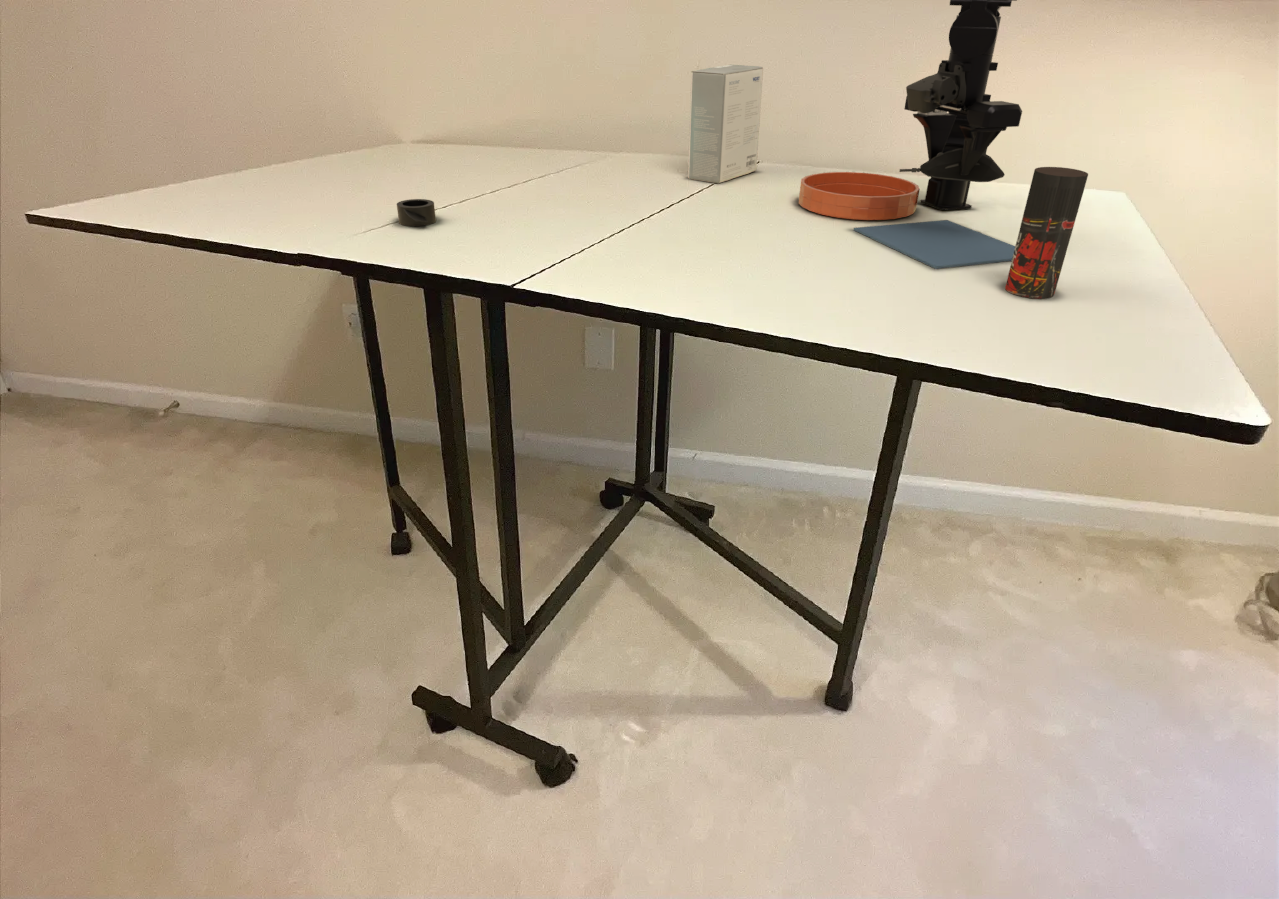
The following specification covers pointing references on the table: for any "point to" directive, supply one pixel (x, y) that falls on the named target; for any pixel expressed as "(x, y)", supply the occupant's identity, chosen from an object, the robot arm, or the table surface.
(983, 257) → the mouse pad
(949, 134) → the robot arm
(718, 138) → the hard drive box
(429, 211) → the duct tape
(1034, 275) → the deodorant
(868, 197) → the bowl
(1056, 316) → the table surface
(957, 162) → the gaming mouse
